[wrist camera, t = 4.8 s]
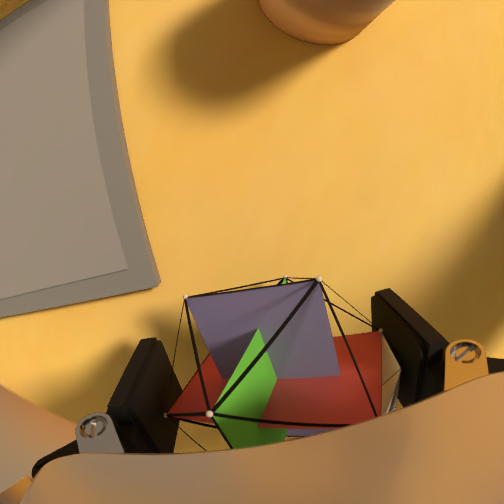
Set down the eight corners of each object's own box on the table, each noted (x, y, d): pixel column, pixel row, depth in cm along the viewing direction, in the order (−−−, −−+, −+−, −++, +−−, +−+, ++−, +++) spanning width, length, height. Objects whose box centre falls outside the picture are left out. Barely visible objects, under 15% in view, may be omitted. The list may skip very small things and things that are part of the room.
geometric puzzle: (180, 441, 11) (305, 557, 5) (101, 315, 10) (209, 456, 3) (292, 358, 15) (432, 408, 9) (253, 236, 13) (434, 239, 7)
